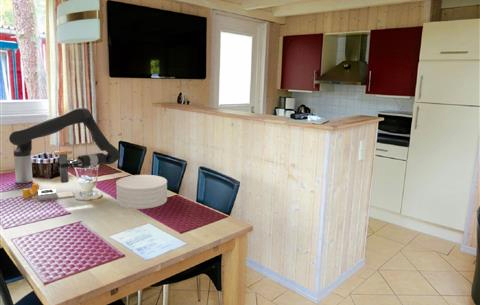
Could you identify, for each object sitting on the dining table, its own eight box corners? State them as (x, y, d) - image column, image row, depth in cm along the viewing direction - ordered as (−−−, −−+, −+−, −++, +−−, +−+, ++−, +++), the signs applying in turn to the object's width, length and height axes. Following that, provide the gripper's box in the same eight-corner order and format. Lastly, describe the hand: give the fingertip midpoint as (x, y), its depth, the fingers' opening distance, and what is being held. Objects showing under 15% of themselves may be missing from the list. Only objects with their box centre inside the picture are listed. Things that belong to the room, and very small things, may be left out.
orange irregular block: (31, 194, 211) (30, 183, 210) (39, 194, 212) (38, 183, 210) (20, 201, 200) (19, 189, 198) (28, 201, 200) (27, 189, 199)
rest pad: (56, 194, 208) (56, 193, 208) (71, 192, 212) (71, 191, 212) (58, 198, 201) (58, 197, 201) (73, 196, 206) (73, 195, 206)
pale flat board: (31, 198, 203) (31, 196, 203) (72, 194, 214) (72, 191, 214) (32, 205, 194) (32, 202, 194) (75, 199, 205) (75, 197, 205)
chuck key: (55, 181, 205) (53, 151, 201) (72, 179, 209) (71, 150, 206) (56, 183, 201) (54, 152, 198) (73, 181, 206) (72, 151, 202)
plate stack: (172, 194, 222) (172, 176, 220) (158, 210, 195) (158, 190, 192) (128, 191, 224) (128, 173, 222) (107, 206, 197) (107, 186, 195)
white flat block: (38, 196, 204) (37, 190, 203) (55, 194, 208) (54, 188, 207) (39, 200, 196) (38, 194, 196) (56, 198, 201) (56, 192, 200)
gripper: (81, 152, 218) (52, 156, 205) (94, 156, 209) (64, 161, 196) (81, 164, 219) (52, 169, 206) (94, 169, 211) (65, 174, 198)
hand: (58, 165), depth 201 cm, fingers closed on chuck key, 4 cm apart
